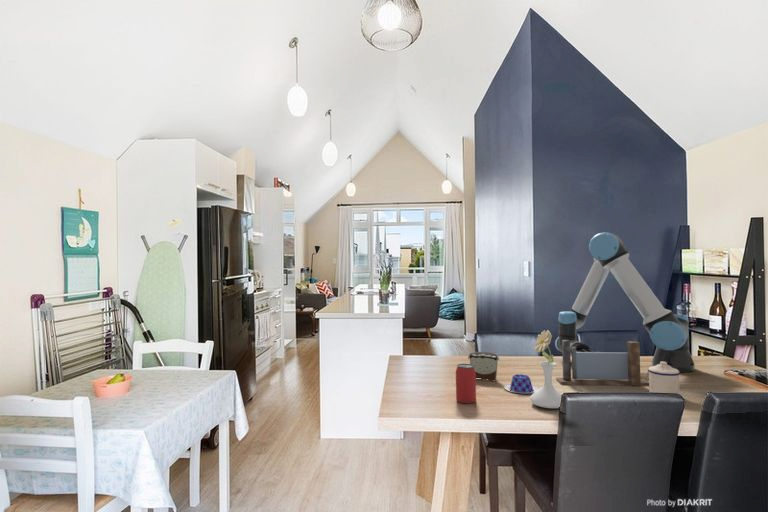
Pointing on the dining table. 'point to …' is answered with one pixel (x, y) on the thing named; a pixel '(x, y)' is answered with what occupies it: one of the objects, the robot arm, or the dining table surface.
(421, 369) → the dining table surface
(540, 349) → the flower in vase
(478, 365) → the food container
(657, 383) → the teacup with lid
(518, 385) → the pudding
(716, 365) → the dining table surface
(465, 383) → the beer can
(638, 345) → the gate frame
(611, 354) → the gate leaf
